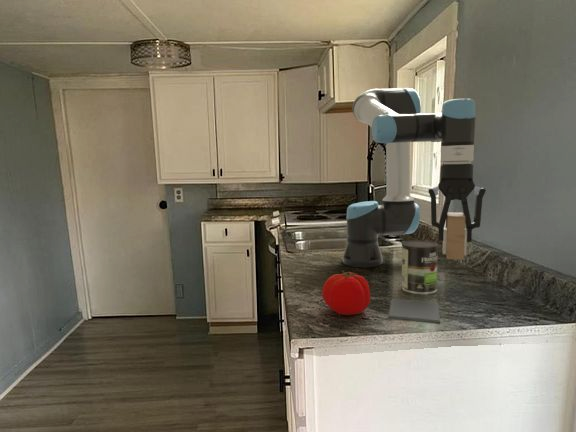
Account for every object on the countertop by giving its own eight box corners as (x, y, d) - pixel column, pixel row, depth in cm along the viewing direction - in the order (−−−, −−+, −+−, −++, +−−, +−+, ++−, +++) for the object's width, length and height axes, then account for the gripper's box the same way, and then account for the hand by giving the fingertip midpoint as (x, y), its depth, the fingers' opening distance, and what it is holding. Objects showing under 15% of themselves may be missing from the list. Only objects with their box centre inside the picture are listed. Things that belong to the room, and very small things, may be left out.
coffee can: (444, 290, 113) (446, 244, 111) (419, 297, 108) (420, 249, 106) (418, 281, 122) (419, 238, 120) (394, 287, 117) (394, 242, 115)
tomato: (371, 322, 92) (371, 281, 91) (321, 320, 94) (320, 280, 93) (369, 302, 105) (369, 265, 104) (324, 301, 107) (324, 265, 106)
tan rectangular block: (445, 252, 103) (446, 212, 101) (461, 253, 101) (462, 212, 100) (446, 258, 96) (447, 216, 94) (463, 259, 95) (465, 216, 93)
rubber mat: (392, 300, 106) (392, 298, 106) (438, 304, 102) (438, 302, 102) (388, 317, 95) (388, 315, 95) (439, 322, 91) (439, 320, 91)
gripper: (420, 164, 94) (419, 255, 98) (497, 162, 89) (493, 258, 92) (420, 163, 101) (419, 248, 105) (492, 161, 96) (488, 251, 99)
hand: (454, 253), depth 99 cm, fingers closed on tan rectangular block, 4 cm apart
